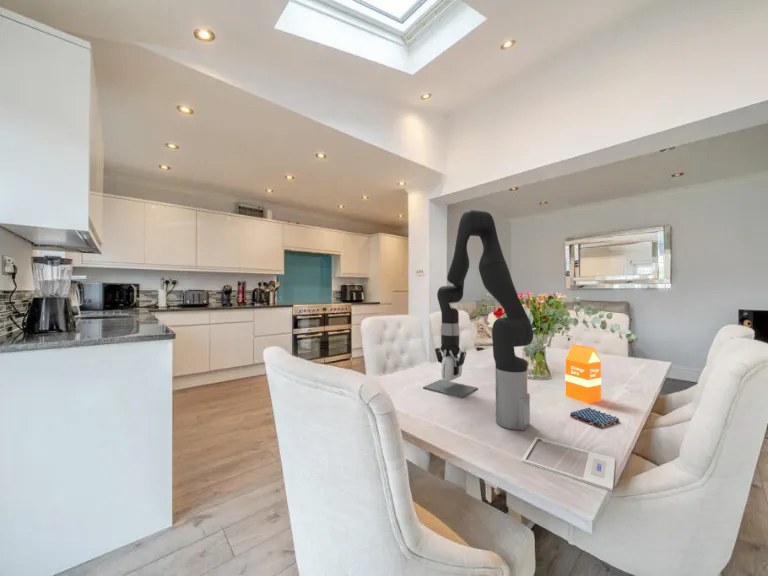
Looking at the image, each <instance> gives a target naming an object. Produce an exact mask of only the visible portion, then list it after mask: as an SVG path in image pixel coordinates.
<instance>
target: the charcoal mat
mask: <svg viewBox="0 0 768 576" xmlns="http://www.w3.org/2000/svg"><path fill="white" fill-rule="evenodd" d="M422 389H423V390H424V389H425V390H428V391H432V392H437V393H440V394H444V395H448V396H452V397H455V398H459V399H463V398H465V397H468V396H469V395H470V394H472V393H474V392H476V391H478V390H479V387H478V386H477V387H476V386H472V385H467V384H462V383H458V382H454V381H445V380H443V379H442V378H441V379H438V380H435V381H434V382H431V383H429V384H427V385H425V386H423V388H422Z"/></svg>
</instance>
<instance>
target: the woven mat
mask: <svg viewBox="0 0 768 576" xmlns="http://www.w3.org/2000/svg"><path fill="white" fill-rule="evenodd" d="M569 417H570V418H572V419H574V420H577V421H579V422H582V423H584V424H587V425H589V426H593V427H594V428H597V429H601V430H603V429H605V428H606V429H607V428H608V427H611V426H613V425H618V424H620V423H621V421H620V419H619V417H617V416H612V415H611V414H606V412H601V411H600V410H596V409H592V408H591V407H584V408H582V409H579V410H576V411H574V410H573V411H572V412H571V411H570V414H569Z"/></svg>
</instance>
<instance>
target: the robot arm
mask: <svg viewBox="0 0 768 576" xmlns="http://www.w3.org/2000/svg"><path fill="white" fill-rule="evenodd" d="M496 228H497V227H496V223H495V221H494V218H493V216H492V214H491V213H490V212H487V211H484V210H475V209H466V210H465V211H464V212H463V213H462V215H461V217H460V220H459V223H458V228H457V232H456V233H457V234H456V235H457V236H456V240H455V246H454V253H453V257H452V260H451V263H450V266H449V269H448V273H447V276H446V279H447V281H448V282H449V283H450V284H452V285H443V286H442V285H441V287H439V288H438V290H437V294H436V296H437V301H438V305H439V308H440V311H441V312H440V313H441V326H440V344H441V346H440V347H436V348H435V349H434V351H435V355H436V359H437V362H438V363H441V364H442V362H443V358H444V357H447V356H451V358H453V361H454V375H455V376H456V375H458V374H459V366H461V365H462V366H463V365H464V362H465V360H466V356H467V351H465V350H464V351H463V350H461V348H460V322H459V321H460V318H459V317H460V316H459V315H460V314H459V310H458V309H457V308H453V307H451V305H450V304H451V303H459V302H460V301H462V299H463V297H464V290H465V289H464V287H465V280H466V277H467V274H468V271H469V269H470V258H469V253H468V242H469V239H470V237H471V236H472V237H479V238H480V241H481V244H482V249H483V250H482V253H481V257H480V259H479V263H478V270H479V271H478V272H479V275H480V277H481V281H482V284H483V286H484V288H485V289H486V291H487V292H488V293H489V294H490V295H491V296H492V297H493V298H494V299H495V300H496V302H498V303H499V304H500V306H501V307H502V308H503V311H504V313H505V315H506V317H499V318H497V319H496V320H495V321H494V322H493V324H492V329H491V330H492V331H491V338H492V339H491V340H492V355H493V360H494V363H495V423H496V424H497V425H499V426H500V427H502V428H505V429H509V430H515V431H516V430H517V431H518V430H519V431H522V432H523V431H525V430H526V429H527V428H528V426H529V425H531V415H530V414H531V413H530V412H531V411H530V410H531V409H530V408H531V405H530V404H531V403H530V401H531V400H530V399H531V398H530V397H531V396H530V393H528V361H527V360H526V359H524V358H522V357H519V356H517V355H516V352H515V348H517V347H526V346H529V345H530V344H532V342H533V340H534V329H533V326H532V324H531V320H530V319H529V316H528V314H527V313H526V310H525V309H524V307H523V303H522V302H521V300H520V297H519V295H518V292H517V290H516V287H515V285H514V282H513V279H512V276H511V273H510V269H509V267H508V265H507V262H506V258H505V256H504V254H503V251H502V247H501V245H500V241H499V238H498V233H497V229H496ZM458 353H459V355H460V358H458ZM455 357H456V359H455ZM458 360H459V361H458Z"/></svg>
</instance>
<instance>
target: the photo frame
mask: <svg viewBox="0 0 768 576" xmlns="http://www.w3.org/2000/svg"><path fill="white" fill-rule="evenodd" d="M538 440H539V441H541V442H543V443H547V444H549V445H553V446H554V445H555V446H558V447H561V448H565V449H568V450H572V451H574V452H575V451H576V452H579V453H582V454H586V455H588V456H587V460H586V464H585V469H584V472H583V476H582V477H581V476H579V475H575V474H572V473H568V472H565V471H563V470H559V469H556V468H553V467H550V466H546V465H545V464H541V463H537V462H535V461H531V460H528V459H527V458H528V456H529V454H530V453H531V450H533V447H534V446H535V444H536V442H537V441H538ZM521 463H525V464H527V465H531V466H533V467H537V468H540V469H543V470H546V471H549V472H552V473H555V474H558V475H561V476H564V477H567V478H570V479H573V480H576V481H580V482H583V483H586V484H588V485H592V486H594V485H595V487H597V486H598V488H601V487H603V488H602V489H604V488H606V489H605V490H607V489H608V490H607V491H611V492H613V490H614V479H615V467H616V458H615V457H611V456H608V455H603V454H601V453H598V452H597V453H596V452H592V451H589V450H585V449H582V448H578V447H575V446H570V445H569V444H568V445H567V444H564V443H560V442H555V441H552V440H549V439H545V438H541V437H537V436H535V438H534V439H533V441H532V443H531V444H530V446H529V447H528V448H527V450H526V451H525V453H524V455H523V457H522V458H521Z"/></svg>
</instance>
